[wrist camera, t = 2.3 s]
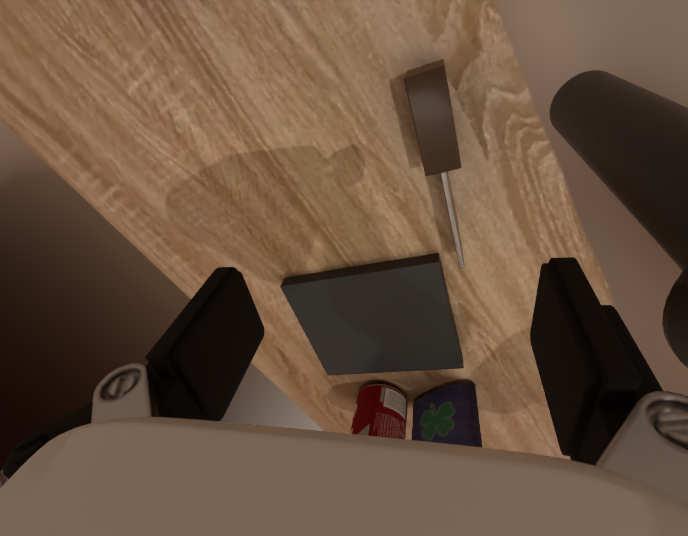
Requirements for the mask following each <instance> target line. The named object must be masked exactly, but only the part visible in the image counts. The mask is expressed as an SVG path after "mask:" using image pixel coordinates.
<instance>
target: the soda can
mask: <svg viewBox="0 0 688 536" xmlns="http://www.w3.org/2000/svg"><path fill="white" fill-rule="evenodd" d="M407 405H408V402H407V398H406V397H405V395H404V394H403V393H402V392H401V391H399V390H398V389H396V388H394V387H392V386H389V385H385V384H371V385H367V386H365V387H363V388H362V389H361V390H360V391H359V393H358V397H357V402H356V407H355V412H354V417H353V422H352V427H351V432H350V434H356V435H366V436H376V437H386V438H396V439H405V432H406V419H407Z"/></svg>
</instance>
